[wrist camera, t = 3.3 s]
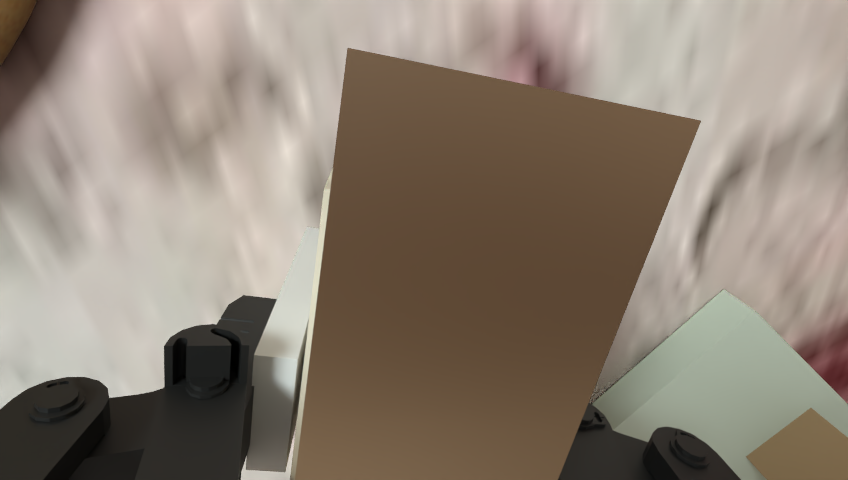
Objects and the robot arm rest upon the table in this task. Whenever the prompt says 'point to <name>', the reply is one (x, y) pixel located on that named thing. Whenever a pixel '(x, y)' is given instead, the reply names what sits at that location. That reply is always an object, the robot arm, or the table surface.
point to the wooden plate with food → (12, 23)
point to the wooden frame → (472, 271)
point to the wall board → (736, 397)
